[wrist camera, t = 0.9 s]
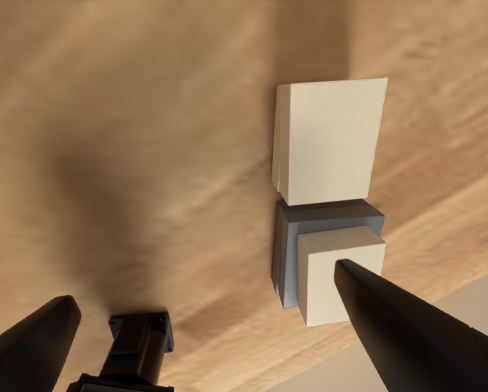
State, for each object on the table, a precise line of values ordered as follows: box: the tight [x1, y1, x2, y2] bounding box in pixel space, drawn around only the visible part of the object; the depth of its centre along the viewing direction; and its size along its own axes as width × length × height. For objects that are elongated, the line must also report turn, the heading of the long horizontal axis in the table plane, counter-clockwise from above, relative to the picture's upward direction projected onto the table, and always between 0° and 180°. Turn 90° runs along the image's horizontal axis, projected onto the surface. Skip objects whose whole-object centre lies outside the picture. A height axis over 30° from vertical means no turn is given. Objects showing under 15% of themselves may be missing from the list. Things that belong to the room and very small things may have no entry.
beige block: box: [271, 77, 388, 206], centre depth 17 cm, size 8×6×5 cm
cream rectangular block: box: [298, 225, 386, 327], centre depth 20 cm, size 8×6×3 cm
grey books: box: [272, 198, 385, 308], centre depth 23 cm, size 10×9×4 cm
